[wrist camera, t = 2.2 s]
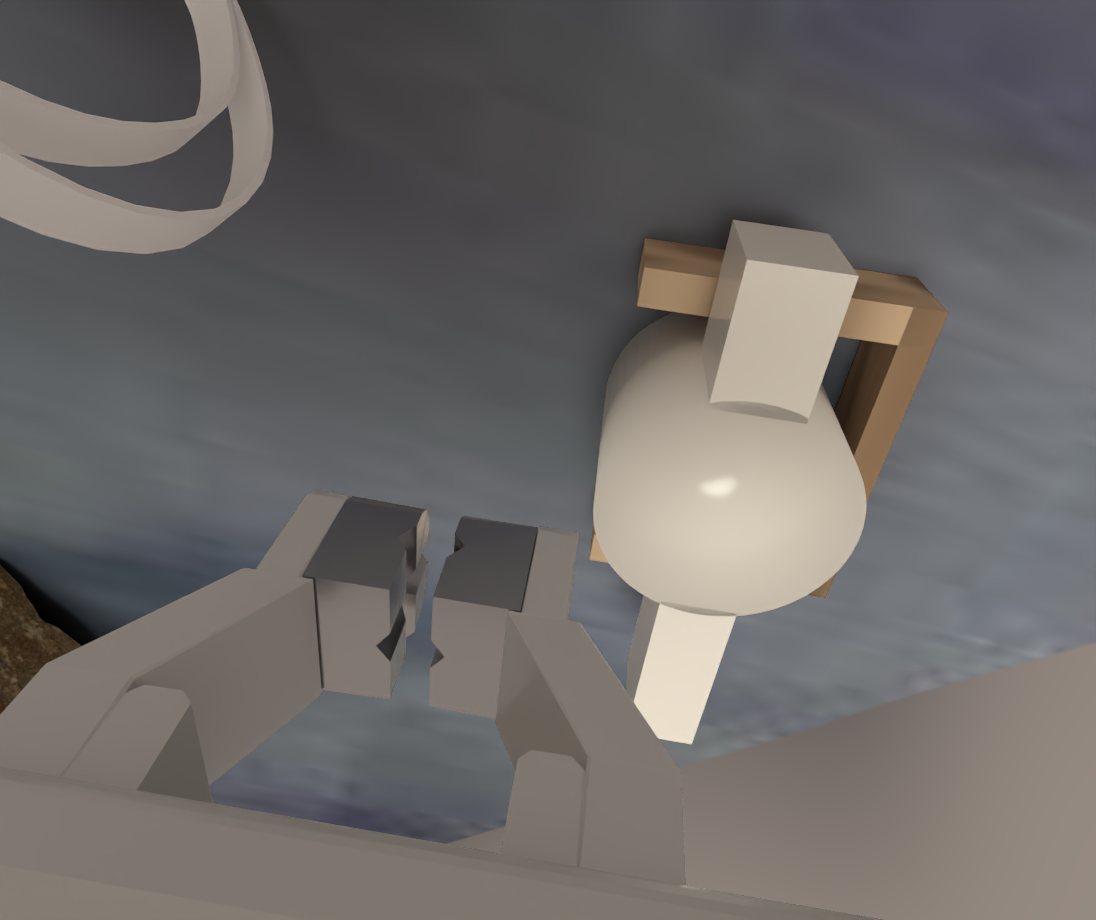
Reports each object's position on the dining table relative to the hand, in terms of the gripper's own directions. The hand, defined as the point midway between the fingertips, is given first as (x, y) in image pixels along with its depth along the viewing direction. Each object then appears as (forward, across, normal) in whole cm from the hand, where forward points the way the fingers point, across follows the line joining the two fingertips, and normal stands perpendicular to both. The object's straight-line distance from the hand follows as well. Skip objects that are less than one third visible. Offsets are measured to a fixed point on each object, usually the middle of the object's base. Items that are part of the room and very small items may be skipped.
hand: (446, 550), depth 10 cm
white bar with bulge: (+17, -6, +7) cm, 20 cm away
